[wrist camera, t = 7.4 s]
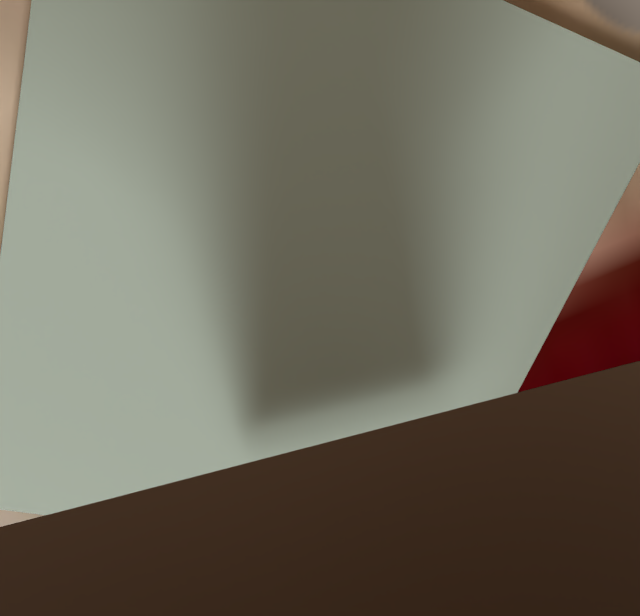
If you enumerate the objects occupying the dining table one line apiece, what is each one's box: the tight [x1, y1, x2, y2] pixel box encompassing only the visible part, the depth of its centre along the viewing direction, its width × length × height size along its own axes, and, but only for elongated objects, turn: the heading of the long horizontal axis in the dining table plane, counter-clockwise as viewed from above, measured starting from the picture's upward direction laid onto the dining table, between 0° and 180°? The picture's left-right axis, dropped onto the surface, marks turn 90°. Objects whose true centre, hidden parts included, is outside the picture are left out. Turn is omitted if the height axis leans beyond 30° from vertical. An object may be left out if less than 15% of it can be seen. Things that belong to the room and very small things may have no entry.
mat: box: [0, 0, 640, 515], centre depth 15 cm, size 17×15×1 cm
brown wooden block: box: [0, 361, 640, 616], centre depth 9 cm, size 4×6×13 cm
